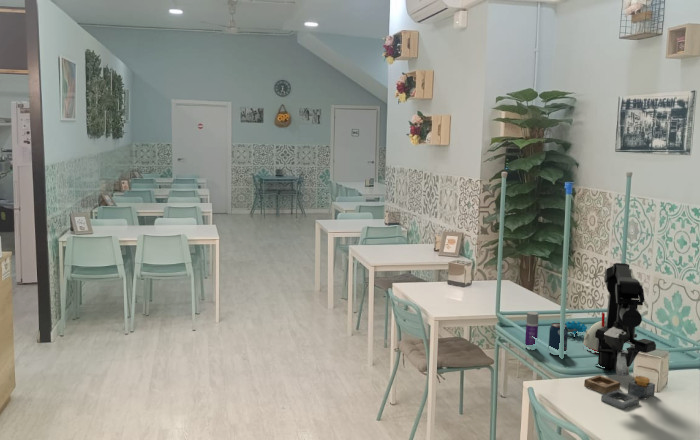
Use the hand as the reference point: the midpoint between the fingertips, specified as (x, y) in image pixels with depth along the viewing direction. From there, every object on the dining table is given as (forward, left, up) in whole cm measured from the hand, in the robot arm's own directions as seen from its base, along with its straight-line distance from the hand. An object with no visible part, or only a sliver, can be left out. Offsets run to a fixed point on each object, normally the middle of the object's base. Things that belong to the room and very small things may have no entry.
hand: (622, 364), depth 220 cm
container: (-52, +17, -13) cm, 56 cm away
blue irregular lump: (-54, +46, -13) cm, 72 cm away
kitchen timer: (-36, +41, -13) cm, 56 cm away
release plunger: (0, +12, -11) cm, 16 cm away
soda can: (-42, +21, -13) cm, 49 cm away
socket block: (0, +5, -13) cm, 14 cm away
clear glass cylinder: (0, 0, -3) cm, 3 cm away
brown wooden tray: (-11, +6, -13) cm, 18 cm away
